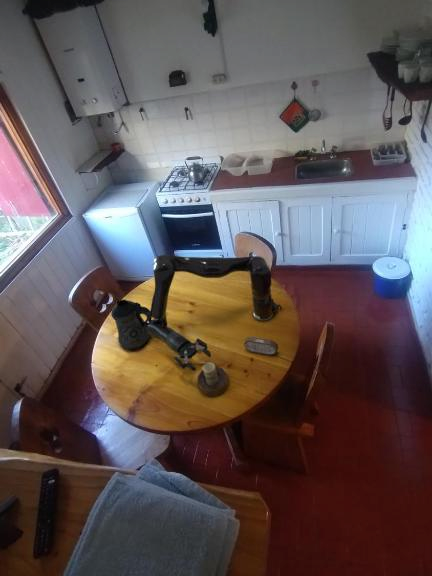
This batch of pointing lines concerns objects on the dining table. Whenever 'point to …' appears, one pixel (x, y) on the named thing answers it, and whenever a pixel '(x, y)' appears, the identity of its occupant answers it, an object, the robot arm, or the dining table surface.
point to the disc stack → (210, 373)
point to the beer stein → (131, 324)
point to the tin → (261, 345)
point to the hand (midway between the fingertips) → (202, 362)
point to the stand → (214, 389)
